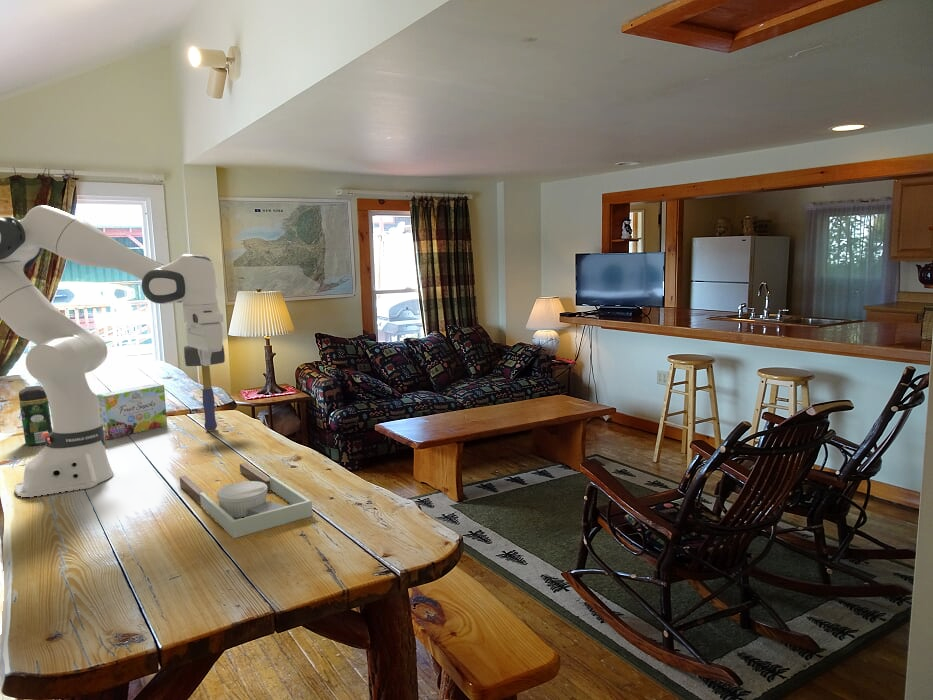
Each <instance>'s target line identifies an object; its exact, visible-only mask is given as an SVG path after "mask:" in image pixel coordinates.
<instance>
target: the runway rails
mask: <svg viewBox="0 0 933 700" xmlns="http://www.w3.org/2000/svg"><path fill="white" fill-rule="evenodd" d="M240 472H241V473H242V474H241V473H240ZM239 473H240V474H241V475H243V474H244V475H245V477H246V478H247V477H248V478H247V479H248V480H249V481H251V480H252V481H258V482H263V483H265V484H266V485H267V487H268V490H269V491H271V490H270V478H269V477H268V476H266V475H264V474H263V473H261V472H260V471H259V470H257V469H255V468H254V467H252V466H251V465H249V464H248V463H246V462H243V463H239ZM244 475H243V476H244ZM179 485H180V486H179V487H181V488H182V489H183V490H184V489H185V490H186V491H187V492H188V493H189V494H190V495H191V496H192V497H193V498H194V499H195V502H196V503H198V502H199V503H200V504H201V501H200V493H202V492H204V493H205V494H206V495H207V496H208V497H209V495H208V494H207V493H206V492H205V491H204V490H203V489H202V488H200V487H199V486H198V485H197V484H196V483H195V482H194V481H193V480H192V479H190V478H189V477H188V476H187V475H183V476H182V475H181V476H179ZM185 490H184V491H185ZM186 491H185V492H186ZM187 492H186V493H187ZM188 493H187V494H188ZM189 494H188V495H189ZM190 495H189V496H190ZM191 496H190V497H191ZM192 497H191V498H192ZM193 498H192V499H193ZM199 503H198V504H199ZM200 504H199V505H200Z"/></svg>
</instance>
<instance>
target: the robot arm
mask: <svg viewBox="0 0 933 700" xmlns="http://www.w3.org/2000/svg"><path fill="white" fill-rule="evenodd" d="M44 250H47V251H49V252H51V253H53V254H54V255H56V256H59V257H60V258H63V259H64V260H67V261H69V262H72V263H75V264H78V265H81V266H85V267H92V268H106V269H113V270H118V271H121V272H124V273H127V274H128V275H130V276H132V277H135V278H137V279H138V280H141V291H142V293H143V295H144V296H145V298H146V299H148V301H150V302H152V303H155V304H158V305H168V304H173V303H177V304H178V303H180V304H181V303H182V313H183V322H184V323H186V326H185V327H186V343H187V346H191V347H194V348H197V349H198V354H199V357H200V361H201V365H204V366H209V367H210V366H211V362H210V359H211V352H218V351H221V350H222V346H223V347H224V343H223V340H224V339H223V325H222V323H223V322H224V315H223V313H222V312H221V311H220V308H219V301H218V299H217V295H216V294H217V293H216V292H217V278H216V272H215V267H214V263H213V261H212V259H210V258H209V257H208V256H205V255H200V254H193V253H192V254H191V253H184V254H181V255H180V256H179V257H178V258H177V259H175V260H173V261H172V262H170V263H167V264H162V263H160V262H158V261H156V260H153V259H152V258H149V257H147V256H145V255H144V254H141V253H139V252H137V251H135V250H133V249H131V248H129V247H127V246H125V245H124V244H122V243H120V242H119V241H118V240H116V239H114V238H112V237H111V236H110V235H108V234H106V233H105V232H103V231H102V230H100V229H99V228H97V227H96V226H94V225H92V224H90V223H89V222H87V221H85V220H84V219H81V218H80V217H78V216H76V215H73V214H71V213H69V212H67V211H63V210H61V209H59V208H57V207H55V208H54V207H52V206H49V205H43V204H41V205H37V206H34V207H32V208H30V210H29V211H27V213H26V214H25V216H24V217H23V218H22V219H17V218H15V217H14V216H0V319H1V320H2V321H3V322H4V323H5V324H6V325H7V326H8V327H9V328H10V329H11V331H13V332H14V334H16V335H17V336H18V337H20V338H23V339H25V340H28V341H29V342H31V343H33V344H35V346H34V347H31V348H30V350H29V351H28V352H27V355H26V356H25V366H26V367H25V368H26V370H27V372H28V373H29V374H30V376H31V377H33V378H34V379H35V380H37V381H38V382H39V384H40V385H41V387H43V389H44V391H45V393H46V396H47V398H48V403H49V410H50V418H51V425H52V432H51V433H49V432H43V434H42V436H41V437H42V439H43V440H45V443H44V444H45V448H43V449H42V450H41V451H40V452H39V453H38V454H37V455H36V456H34V457H33V458H31V460H29V461H28V462H27V463H26V466H25V468H24V471H23V480H21V481H20V482H18V483H17V484H16V485H15V486H14V494H15V493H16V494H17V495H19V496H21V497H20V498H22V497H30V498H35V497H34V496H37V497H40V496H41V495H43V496H48V495H47V494H49V495H54V493H55V494H60V493H59V492H61V493H66V492H65V491H68V492H71V491H72V492H73V490H74V491H78V490H79V489H80V490H85V489H90V488H91V489H92V488H93V487H94V488H95V486H97V485H98V484H100V483H103V482H104V481H107V480H108V479H110V478H112V477H113V476H114V471H113V469H112V466H111V464H110V461H109V459H108V456H107V451H106V448H105V445H106V439H105V433H104V428H103V425H102V424H101V419H100V410H99V401H98V397H97V395H98V394H96V393H95V392H94V391H92V389H91V388H90V386H89V383H88V381H87V378H86V374H87V373H90V372H92V371H95V370H96V369H97V368H99V367H100V366H101V365H102V364H103V363H104V362H105V360H106V359H107V356H108V346H107V345H106V342H105V341H104V339H102V338H101V337H100V336H98V335H96V334H94V333H91V332H89V331H88V330H87V329H84V328H83V327H82V326H80V325H79V324H77V323H76V322H75V321H73V320H72V319H70V318H69V317H68V316H66V315H65V314H63V313H62V311H60V310H59V309H57V308H56V307H55V305H53V303H52V302H50V301H49V299H48V298H47V297H46V296H45V295H44V294H43V293H42V292H41V291H40V290H39V289H38V287H36V286H35V284H34V283H33V282H32V281H31V280H30V279H29V278H28V276H27V275H26V273H25V272H27V271H29V270H30V269H31V268H32V266H33V265H34V264H35V262H36V261H37V260H38V259H39V258H40V257H41V256H42V254H43V252H44ZM16 494H15V495H16ZM17 495H16V496H17Z"/></svg>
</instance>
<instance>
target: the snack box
mask: <svg viewBox="0 0 933 700" xmlns="http://www.w3.org/2000/svg"><path fill="white" fill-rule="evenodd" d="M165 392H166V391H165V384H158V383H151V384H146V385H142V386H141V385H140V386H135V387H131V388H125V389H119V390H114V391H108V392H102V393H98V394H96V395H97V397H98V401H99V410H100V419H101V424H102V425H103V428H104V433H105V438H107V439H106V440H108V439H110V440H113V439H112V438H114V439H117V437H118V438H121V436H122V437H126V436H129V435H128V434H130V435H133V434H132V433H135V434H137V433H136V432H139V433H141V431H143V432H146V430H147V431H150V429H151V430H154V428H155V429H158V428H163V427H165V426H166V427H167V426H168V419H167V418H168V416H167V406H166V393H165ZM125 435H126V436H125Z"/></svg>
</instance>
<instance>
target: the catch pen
mask: <svg viewBox="0 0 933 700" xmlns="http://www.w3.org/2000/svg"><path fill="white" fill-rule="evenodd" d="M268 478H269V479H270V490H269V491H271V490H272V491H273V493H274V492H275V493H276V494H275V493H274V494H275V495H276V496H278V495H279V496H278V497H279V498H281V497H282V498H281V499H283V500H284V499H285V500H284V501H286V502H287V501H288V502H289V503H288V502H287V503H288V504H289V505H286V506H285V507H282V508H278V509H274V510H271V511H267V512H263V513H259V514H256V515H252V516H248V517H244V518H236V519H235V518H232V517H231V516H230V515H229V514H228V513H226V512H225V511H224V510H223V509H222V508H221V507H220V505H218V504H217V503H216V502H215V501H214V500H213V499H212V498H211V497H210V496H209V495H208V494H207V493H206V492H205V491H204V492H205V493H206V494H207V495H208V496H207V495H206V494H205V493H204V492H202V493H200V501H201V505H200V507H203V508H204V509H205V510H206V511H207V512H208V513H209V514H210V515H211V516H212V517H213V518H214V519H215V520H216V521H217V522H218V523H219V524H220V525H221V526H222V527H223V528H224V529H223V528H222V527H221V526H220V525H219V524H218V523H217V522H216V521H215V520H214V519H213V518H212V517H211V516H210V515H209V514H208V513H207V512H206V511H205V512H206V513H207V514H208V515H209V516H210V517H211V518H212V519H213V520H214V521H215V522H216V523H217V524H218V525H219V526H220V527H221V528H222V529H223V530H224V531H225V532H227V534H228V535H229V536H231V537H232V538H233V539H235V538H239V537H243V536H246V535H250V534H254V533H257V532H261V531H265V530H268V529H272V528H275V527H278V526H281V525H285V524H289V523H292V522H295V521H300V520H303V519H306V518H310V517H313V502H312V501H313V500H311V499H309V498H308V497H306V496H305V495H303V494H301V493H300V492H298V491H296V490H295V489H294V488H293V487H291V486H289V485H287V484H286V483H284V482H282V481H281V480H280V479H278V478H276V477H275V476H273V475H270V476H269V477H268ZM272 491H271V492H272Z"/></svg>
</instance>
